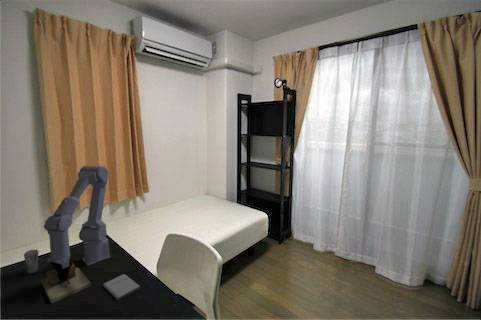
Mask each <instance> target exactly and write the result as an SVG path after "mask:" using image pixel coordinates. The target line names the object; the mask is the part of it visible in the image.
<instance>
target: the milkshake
mask: <svg viewBox="0 0 481 320" xmlns="http://www.w3.org/2000/svg"><path fill="white" fill-rule="evenodd" d="M23 258H24V261H25V267H26V272H27V273H28V274H33V273H35V272H37V271H38V270H39V269H38V268H39V250H38V249H29V250H27V251H25V252H24V254H23Z"/></svg>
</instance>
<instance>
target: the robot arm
mask: <svg viewBox="0 0 481 320" xmlns="http://www.w3.org/2000/svg"><path fill="white" fill-rule="evenodd" d="M77 176H78V179H77V181H76V182H75V184H74V186H73V188H72V190H71V192H70V194H69V196H67V197H64V198H63V199H62V200H61V202H60V204H59V205H58V206H57V208H56V210H55V211H54V213H53V214H52V215H50V216H49V217H47V219H46V220H45V222H44V224H43V228H44V229H45V230H46V231H47V235H49V238H48V239H49V246H50V247H49V248H50V257H49V258H48V259H47V260H46V262H47V263H48V264H49V263H50V264H51V265H52V266H53V268H52V269H55V270H56V271H57V273H58V277H59V280H60V282H62V281H65V280H67V278H68V274H69V270H70V267H71V266H72V263H73V261H72V260H70V259H71V252H70V240H69V239H70V236H69V228H70V227H71V226H72V224H73V219H74V217H73V216H74V213H75V211H76V210H77V208H78V207H79V205H80V201H79V199H80V197H82V195H83V193H84V192H85V191H86V189H87V187H88V186H89V185H91V186H92V190H91V198H90V201H89V202H90V203H89V209H88V216H87V220H86V221H85V222H84V223H82V224H81V228H80V231H79V232H78V238H79V240H80V241H82V243H83V248H84V257H82V258H81V260H82V261H83V263H85V265H87V266H91V265H93V264H96V263H99V262H101V261H104V260H107V259H109V258H110V257H111V255H110V243H109V239H108V237H106V236H107V234H108V233H107V224H106V223H105V222H104V221H103V220H102V218H103V212H104V211H103V210H104V205H105V197H106V191H107V184H108V177H109V171H108V169H107V167H105V166H92V165H83V166H82V167H81V168H80V170H79V171H78V173H77ZM73 264H74V263H73Z"/></svg>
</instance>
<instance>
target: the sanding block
mask: <svg viewBox="0 0 481 320" xmlns="http://www.w3.org/2000/svg"><path fill="white" fill-rule="evenodd" d="M75 268H76V265H75V264H74V263H72V266H71V267H70V270H69V274H68V278H67V280H69V279H71V278H74V277H76V270H75ZM46 274H47V279H48V283H49V285H50V287H51V286H54V285H56V284H59V283H61V282H60V280H59V277H58V273H57V271H56V270H55V269H54V268H52V269H49V270H47V272H46ZM65 281H66V280H65ZM62 282H64V281H62Z"/></svg>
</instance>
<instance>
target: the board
mask: <svg viewBox="0 0 481 320" xmlns="http://www.w3.org/2000/svg"><path fill="white" fill-rule="evenodd" d="M75 270H76V277H74V278H71V279H69V280H66V281H64V282H61V283H59V284H56V285H54V286H51V287H50V285H49V283H48V278H45V279H42V280H41V286H42V288H43V290H44V292H45V293H46V296H47V298H48V300H49V302H50V304H53V303H56V302H58V301H60V300H63V299H65V298H67V297H70V296H72V295H74V294H76V293H78V292H81V291H83V290H85V289H87V288H89V287H91V286H92V282H91V281H90V280H89V279H88V277H86V275H85V273H84V272H83V271H82V270H81V269H80V268H79V267H78V266H77V267H75Z"/></svg>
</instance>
